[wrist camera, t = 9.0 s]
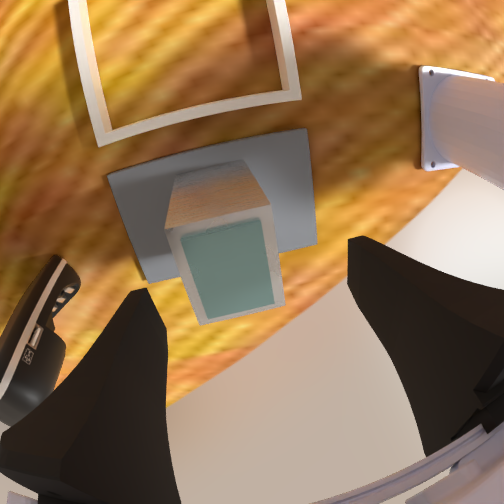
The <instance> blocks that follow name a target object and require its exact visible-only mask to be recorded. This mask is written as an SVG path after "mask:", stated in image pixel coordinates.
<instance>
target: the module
mask: <svg viewBox="0 0 504 504" xmlns="http://www.w3.org/2000/svg"><path fill="white" fill-rule="evenodd" d="M164 231H165V234H166V237H167V239H168V242H169V245H170V248H171V251H172V254H173V257H174V259H175V262H176V265H177V268H178V270H179V273H180V276H181V278H182V281H183V284H184V286H185V289H186V292H187V294H188V297H189V299H190V302H191V305H192V307H193V310H194V312H195V315H196V317H197V320H198V322H199V325H204V324H209V323H213V322H218V321H222V320H227V319H231V318H236V317H240V316H244V315H248V314H253V313H257V312H261V311H265V310H269V309H273V308H277V307H281V306H285V298H284V290H283V283H282V276H281V268H280V261H279V254H278V247H277V240H276V233H275V226H274V220H273V213H272V206H271V203H270V202H269V200H268V198H267V197H266V195H265V193H264V192H263V190H262V188H261V187H260V185H259V184H258V182H257V180H256V179H255V177H254V176H253V174H252V172H251V171H250V169H249V167H248V166H247V164H246V163H245V161H244V160H239V161H234V162H230V163H225V164H221V165H216V166H212V167H208V168H203V169H199V170H195V171H191V172H187V173H183V174H179V175H176V176H175V180H174V185H173V189H172V194H171V198H170V203H169V208H168V213H167V218H166V223H165V228H164Z"/></svg>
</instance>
